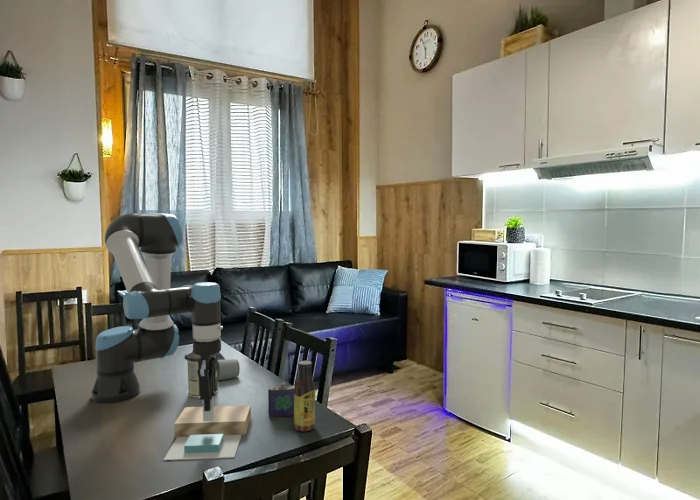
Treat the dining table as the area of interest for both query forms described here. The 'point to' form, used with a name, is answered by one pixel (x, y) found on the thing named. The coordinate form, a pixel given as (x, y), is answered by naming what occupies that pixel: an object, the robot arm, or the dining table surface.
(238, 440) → the mat
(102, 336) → the robot arm
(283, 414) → the flask
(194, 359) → the coffee can
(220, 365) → the ceramic mug
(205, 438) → the teal rectangular block
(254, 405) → the dining table surface
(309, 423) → the sauce bottle
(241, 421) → the tan flat rectangular slab
